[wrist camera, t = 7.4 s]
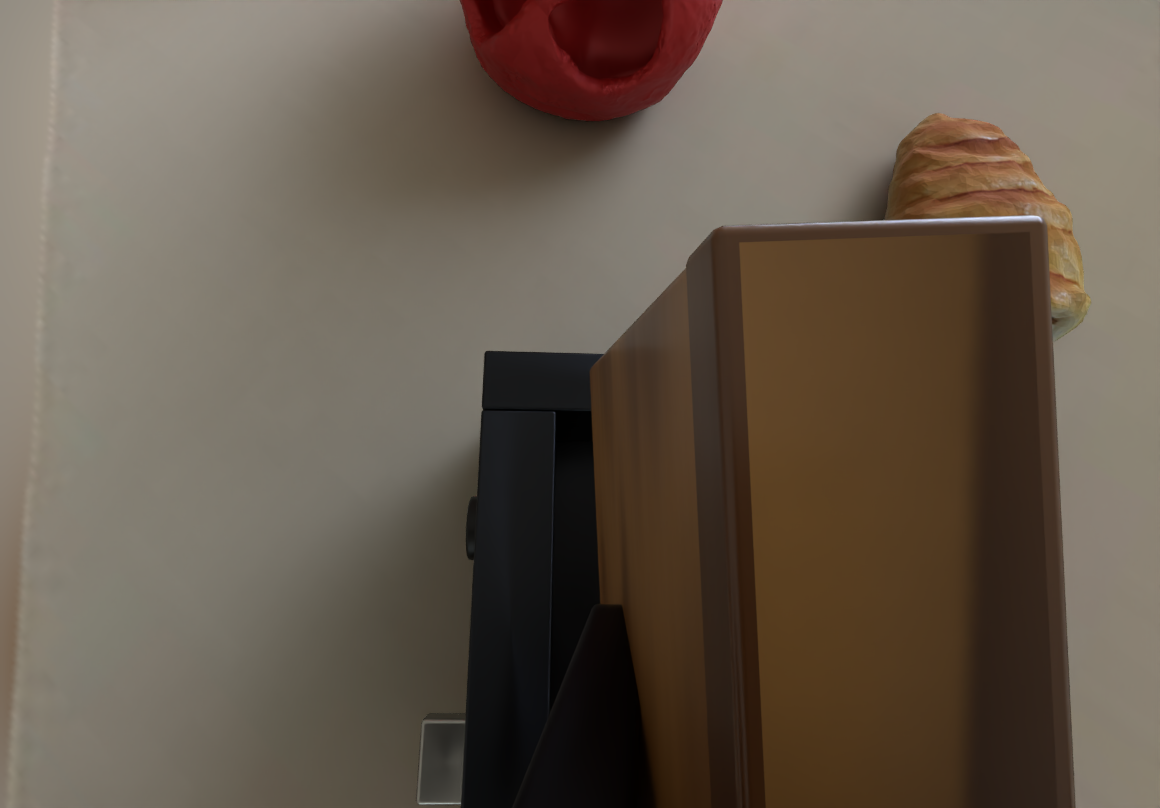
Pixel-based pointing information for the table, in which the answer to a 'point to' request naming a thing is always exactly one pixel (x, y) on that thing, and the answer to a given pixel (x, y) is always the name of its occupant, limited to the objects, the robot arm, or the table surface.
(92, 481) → the table surface
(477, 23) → the pomegranate
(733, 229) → the toast
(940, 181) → the pastry
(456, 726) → the toaster
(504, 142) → the table surface
